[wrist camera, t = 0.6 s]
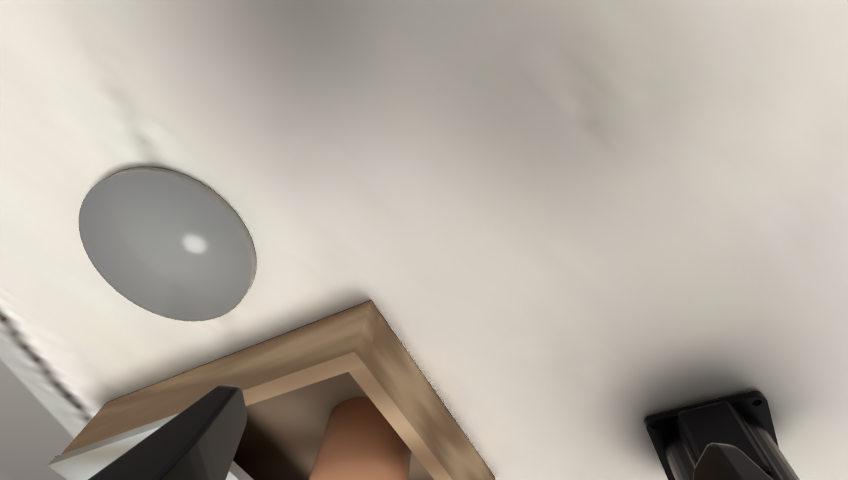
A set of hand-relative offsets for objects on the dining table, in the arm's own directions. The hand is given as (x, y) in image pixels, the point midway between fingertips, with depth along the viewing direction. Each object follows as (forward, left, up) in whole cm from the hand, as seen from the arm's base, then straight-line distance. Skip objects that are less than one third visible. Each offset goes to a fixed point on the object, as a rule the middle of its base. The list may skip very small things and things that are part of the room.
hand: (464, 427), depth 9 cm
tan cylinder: (-13, +13, -13) cm, 22 cm away
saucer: (+3, +16, -14) cm, 21 cm away
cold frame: (-13, +19, -14) cm, 27 cm away
